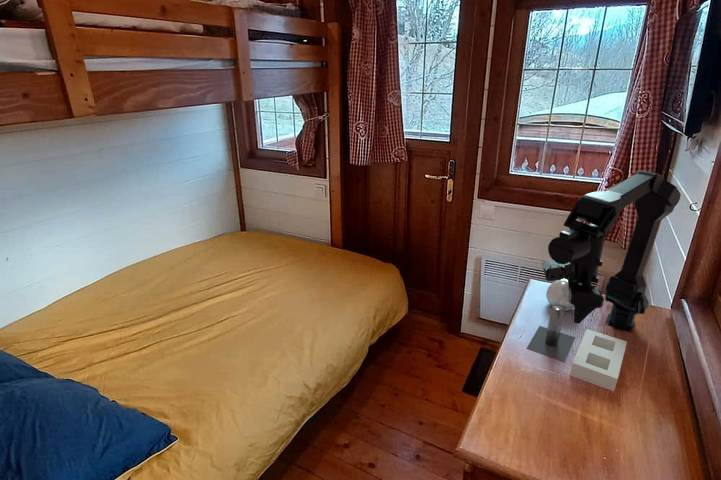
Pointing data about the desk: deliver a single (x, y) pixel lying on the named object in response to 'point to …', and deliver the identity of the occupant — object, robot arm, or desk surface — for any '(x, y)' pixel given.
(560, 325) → the peg
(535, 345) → the mat
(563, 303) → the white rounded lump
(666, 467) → the desk surface
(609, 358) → the hole block
